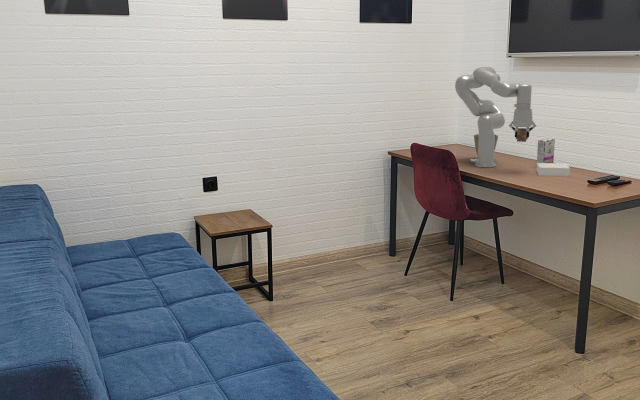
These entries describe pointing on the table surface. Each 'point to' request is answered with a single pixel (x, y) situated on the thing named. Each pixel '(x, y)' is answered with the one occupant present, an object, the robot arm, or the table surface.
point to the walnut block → (521, 134)
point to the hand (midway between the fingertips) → (521, 138)
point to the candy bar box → (545, 151)
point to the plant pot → (476, 139)
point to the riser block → (553, 169)
